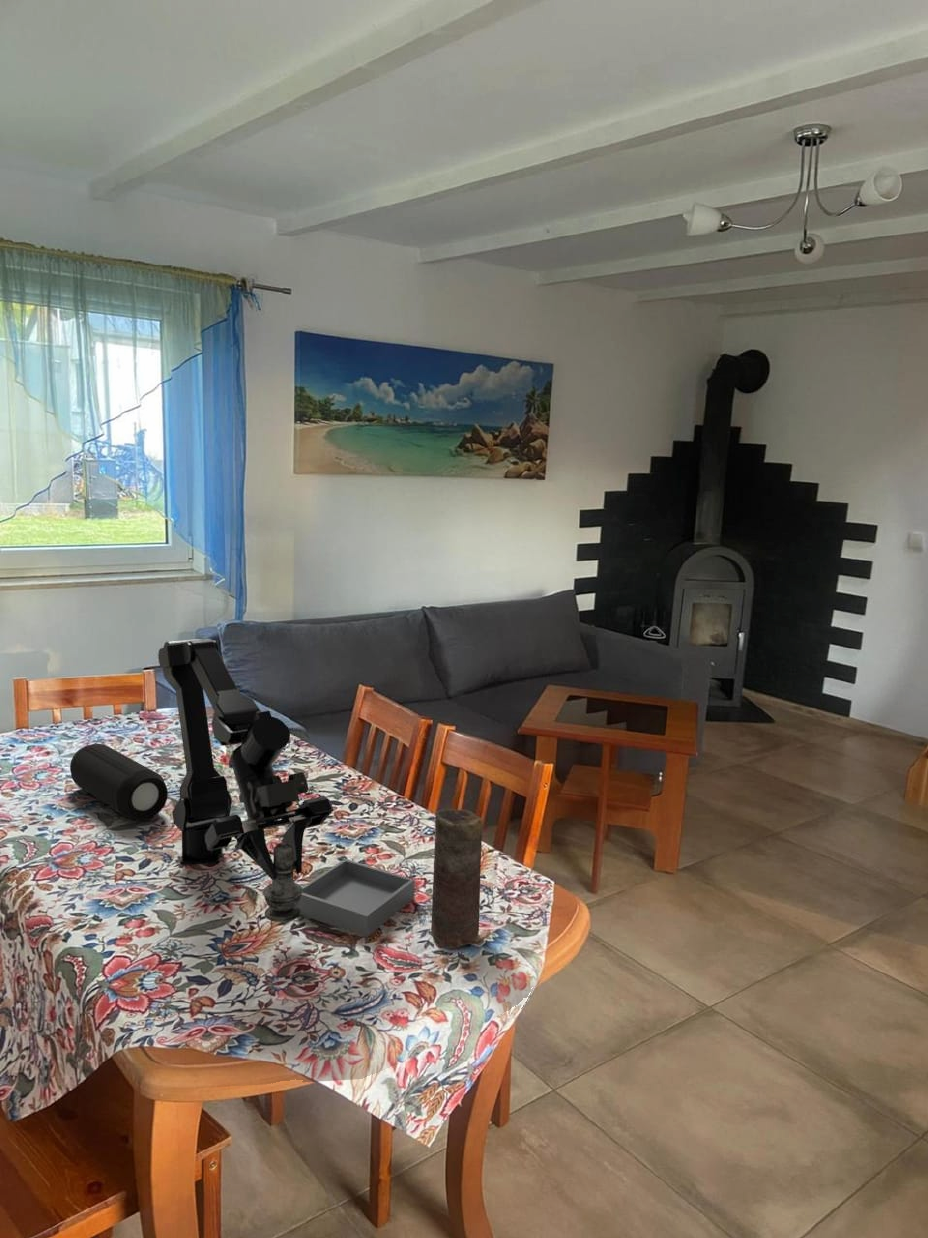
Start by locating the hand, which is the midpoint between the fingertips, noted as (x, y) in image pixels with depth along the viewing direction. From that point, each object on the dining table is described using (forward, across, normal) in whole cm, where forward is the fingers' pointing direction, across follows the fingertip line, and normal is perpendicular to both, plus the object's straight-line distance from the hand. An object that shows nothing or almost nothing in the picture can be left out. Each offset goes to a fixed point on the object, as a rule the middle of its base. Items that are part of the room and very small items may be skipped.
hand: (287, 875), depth 132 cm
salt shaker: (+4, 0, +6) cm, 7 cm away
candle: (+16, +23, 0) cm, 28 cm away
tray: (+5, +14, +11) cm, 19 cm away
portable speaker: (-38, -6, +56) cm, 68 cm away
